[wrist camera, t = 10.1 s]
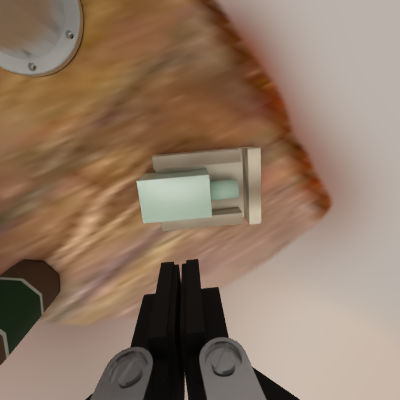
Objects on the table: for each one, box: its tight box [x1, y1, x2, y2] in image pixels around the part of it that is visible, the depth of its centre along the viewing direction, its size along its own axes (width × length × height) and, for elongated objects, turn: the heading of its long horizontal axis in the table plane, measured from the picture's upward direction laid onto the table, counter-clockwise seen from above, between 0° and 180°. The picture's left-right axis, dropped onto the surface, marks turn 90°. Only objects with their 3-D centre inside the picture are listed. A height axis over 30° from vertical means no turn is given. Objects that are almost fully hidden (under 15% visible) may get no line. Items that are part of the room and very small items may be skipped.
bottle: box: [137, 168, 239, 223], centre depth 29 cm, size 5×5×12 cm
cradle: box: [152, 146, 261, 231], centre depth 30 cm, size 10×13×3 cm
